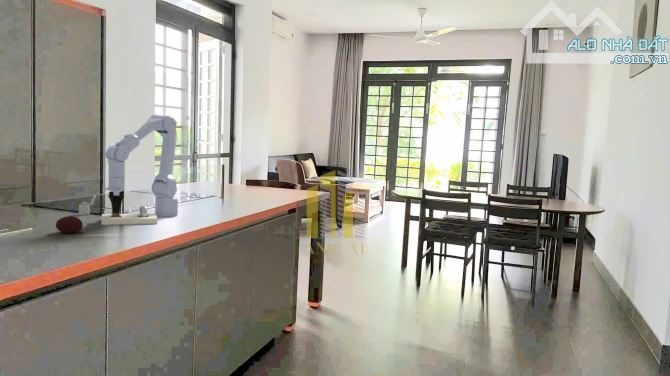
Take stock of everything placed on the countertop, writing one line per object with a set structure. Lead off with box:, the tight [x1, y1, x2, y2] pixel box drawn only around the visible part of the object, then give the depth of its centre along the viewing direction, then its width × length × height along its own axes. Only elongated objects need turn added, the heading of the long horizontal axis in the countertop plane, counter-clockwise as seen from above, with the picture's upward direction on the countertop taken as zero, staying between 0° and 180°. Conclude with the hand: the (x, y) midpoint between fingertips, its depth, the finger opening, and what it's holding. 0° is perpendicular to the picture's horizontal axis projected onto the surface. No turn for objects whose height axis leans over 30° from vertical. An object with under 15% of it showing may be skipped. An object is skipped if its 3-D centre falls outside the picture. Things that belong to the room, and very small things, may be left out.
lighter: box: [78, 194, 97, 216], centre depth 201 cm, size 7×2×8 cm, turn 156°
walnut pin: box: [111, 209, 121, 217], centre depth 186 cm, size 3×3×8 cm
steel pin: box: [139, 205, 148, 217], centre depth 191 cm, size 3×3×6 cm
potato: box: [55, 215, 84, 234], centre depth 168 cm, size 7×8×6 cm
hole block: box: [100, 213, 158, 226], centre depth 189 cm, size 20×10×3 cm, turn 115°
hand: (116, 211), depth 186 cm, fingers open, 7 cm apart
